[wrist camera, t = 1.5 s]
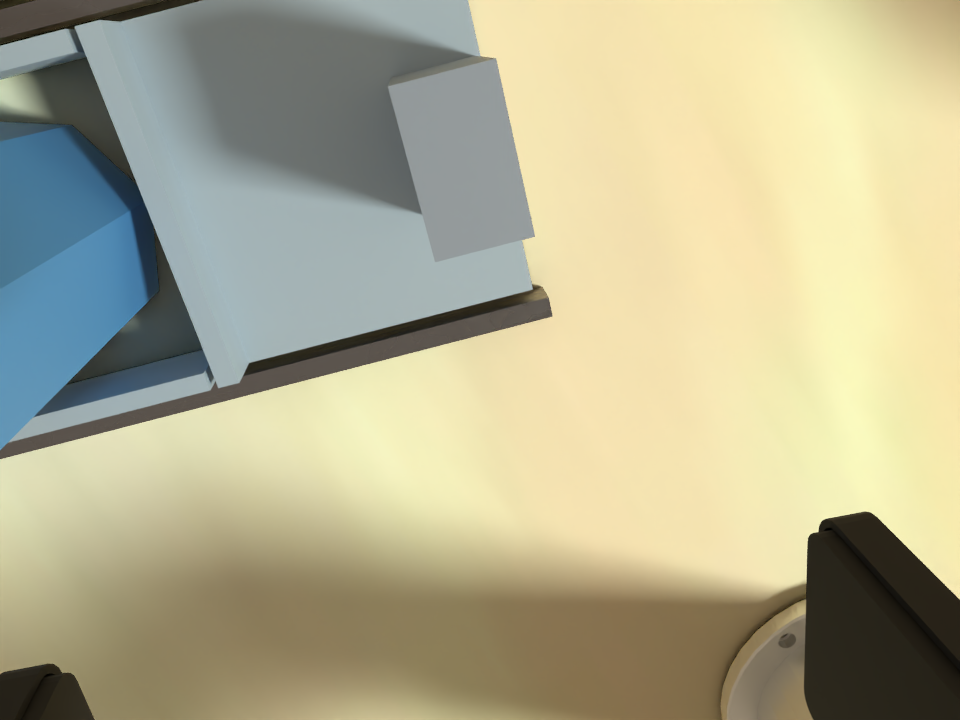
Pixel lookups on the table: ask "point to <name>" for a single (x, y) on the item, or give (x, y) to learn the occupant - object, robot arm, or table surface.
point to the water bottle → (63, 262)
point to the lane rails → (75, 3)
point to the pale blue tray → (300, 175)
